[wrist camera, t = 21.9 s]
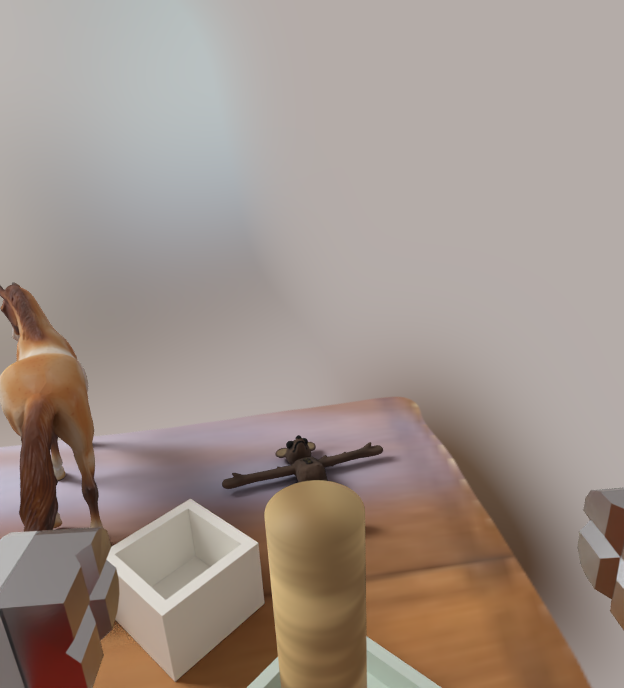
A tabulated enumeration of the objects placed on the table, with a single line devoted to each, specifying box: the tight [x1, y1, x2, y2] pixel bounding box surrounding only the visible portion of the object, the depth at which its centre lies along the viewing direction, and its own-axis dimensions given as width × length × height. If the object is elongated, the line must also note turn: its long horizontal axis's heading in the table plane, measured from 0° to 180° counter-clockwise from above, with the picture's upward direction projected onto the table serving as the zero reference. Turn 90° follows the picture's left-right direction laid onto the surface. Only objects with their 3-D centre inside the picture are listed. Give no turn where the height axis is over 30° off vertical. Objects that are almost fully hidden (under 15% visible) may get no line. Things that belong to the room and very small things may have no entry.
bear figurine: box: [222, 435, 383, 489], centre depth 55 cm, size 18×4×14 cm
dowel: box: [264, 480, 367, 688], centre depth 27 cm, size 4×4×18 cm
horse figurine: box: [0, 283, 103, 532], centre depth 52 cm, size 31×8×21 cm, turn 23°
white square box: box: [106, 499, 265, 681], centre depth 41 cm, size 8×8×6 cm
